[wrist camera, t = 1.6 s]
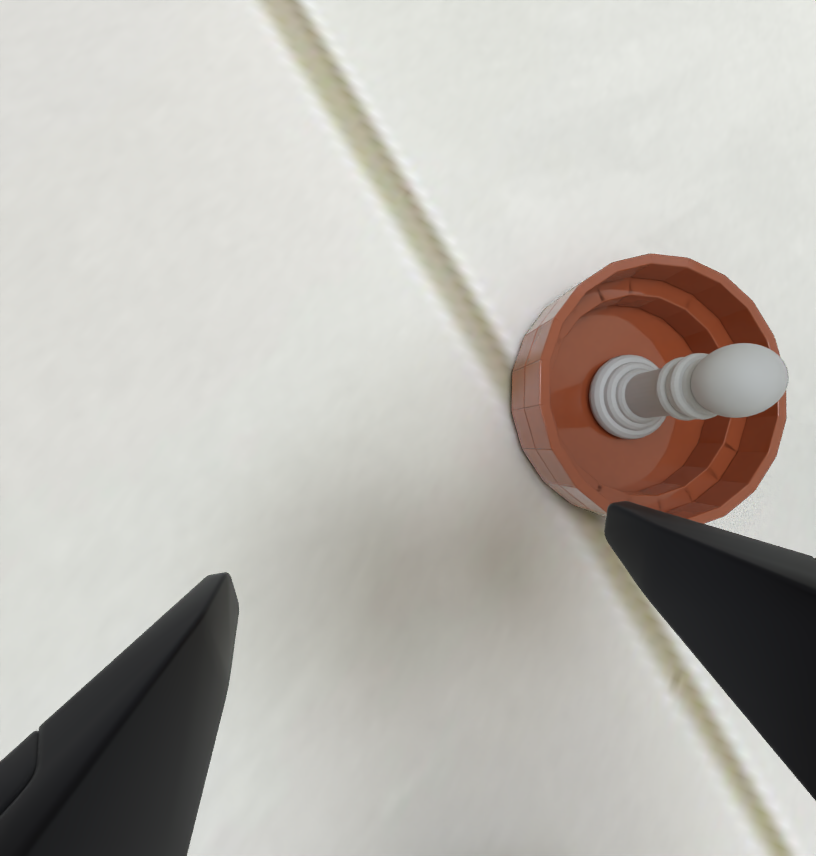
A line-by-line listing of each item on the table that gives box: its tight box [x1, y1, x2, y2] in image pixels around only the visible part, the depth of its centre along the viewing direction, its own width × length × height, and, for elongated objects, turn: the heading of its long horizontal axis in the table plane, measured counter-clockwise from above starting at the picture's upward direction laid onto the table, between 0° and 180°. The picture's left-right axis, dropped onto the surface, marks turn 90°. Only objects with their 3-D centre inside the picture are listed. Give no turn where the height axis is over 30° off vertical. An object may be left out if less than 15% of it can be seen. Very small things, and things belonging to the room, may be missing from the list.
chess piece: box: [589, 343, 789, 439], centre depth 20 cm, size 5×5×9 cm
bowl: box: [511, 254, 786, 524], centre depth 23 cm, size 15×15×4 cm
